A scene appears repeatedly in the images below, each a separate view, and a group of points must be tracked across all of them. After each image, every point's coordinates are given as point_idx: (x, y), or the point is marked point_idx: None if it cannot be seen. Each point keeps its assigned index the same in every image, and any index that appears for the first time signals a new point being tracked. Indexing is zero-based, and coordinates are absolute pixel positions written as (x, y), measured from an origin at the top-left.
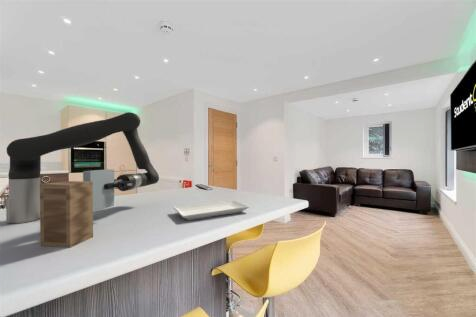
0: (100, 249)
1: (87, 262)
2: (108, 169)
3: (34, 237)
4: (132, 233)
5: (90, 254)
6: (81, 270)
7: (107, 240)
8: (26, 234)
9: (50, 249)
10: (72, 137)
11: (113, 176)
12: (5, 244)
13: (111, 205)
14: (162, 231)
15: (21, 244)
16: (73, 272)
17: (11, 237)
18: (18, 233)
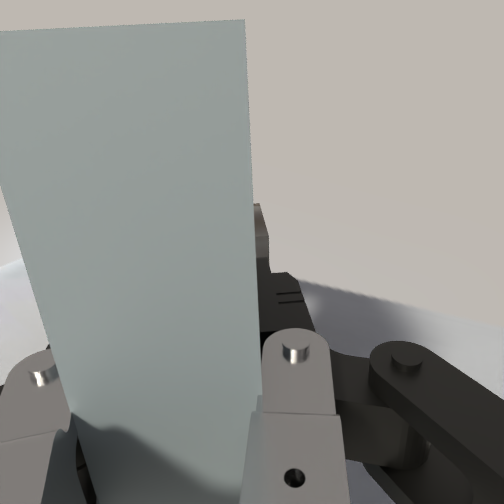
0: (4, 324)
1: (9, 285)
2: (213, 21)
3: (347, 335)
4: None
5: (22, 304)
6: (6, 270)
7: (7, 370)
8: (428, 345)
9: None
10: None
11: (41, 259)
12: (358, 294)
13: None
14: None
15: (307, 302)
16: (20, 265)
17: (434, 321)
18: (481, 345)
